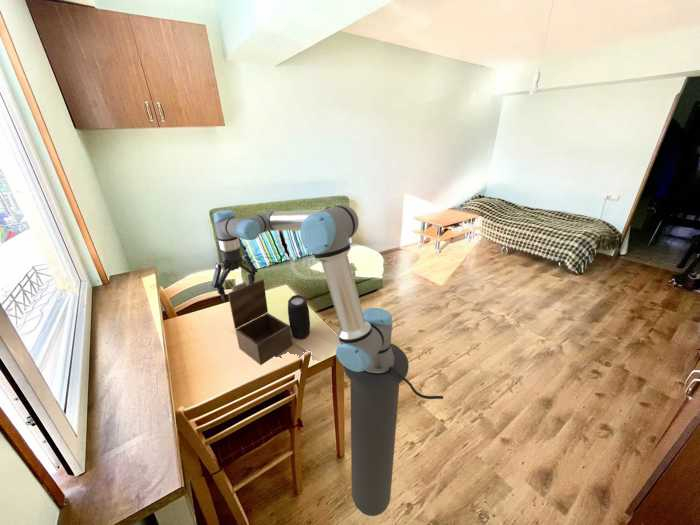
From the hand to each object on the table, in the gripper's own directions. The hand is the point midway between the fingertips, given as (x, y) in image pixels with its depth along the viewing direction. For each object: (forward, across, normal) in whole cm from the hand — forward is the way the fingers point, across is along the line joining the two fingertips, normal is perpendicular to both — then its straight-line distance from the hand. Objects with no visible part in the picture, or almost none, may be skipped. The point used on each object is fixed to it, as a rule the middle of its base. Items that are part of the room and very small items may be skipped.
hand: (238, 293), depth 122 cm
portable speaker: (+21, -15, +22) cm, 33 cm away
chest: (+21, 0, +16) cm, 26 cm away
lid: (+2, 0, +8) cm, 8 cm away
